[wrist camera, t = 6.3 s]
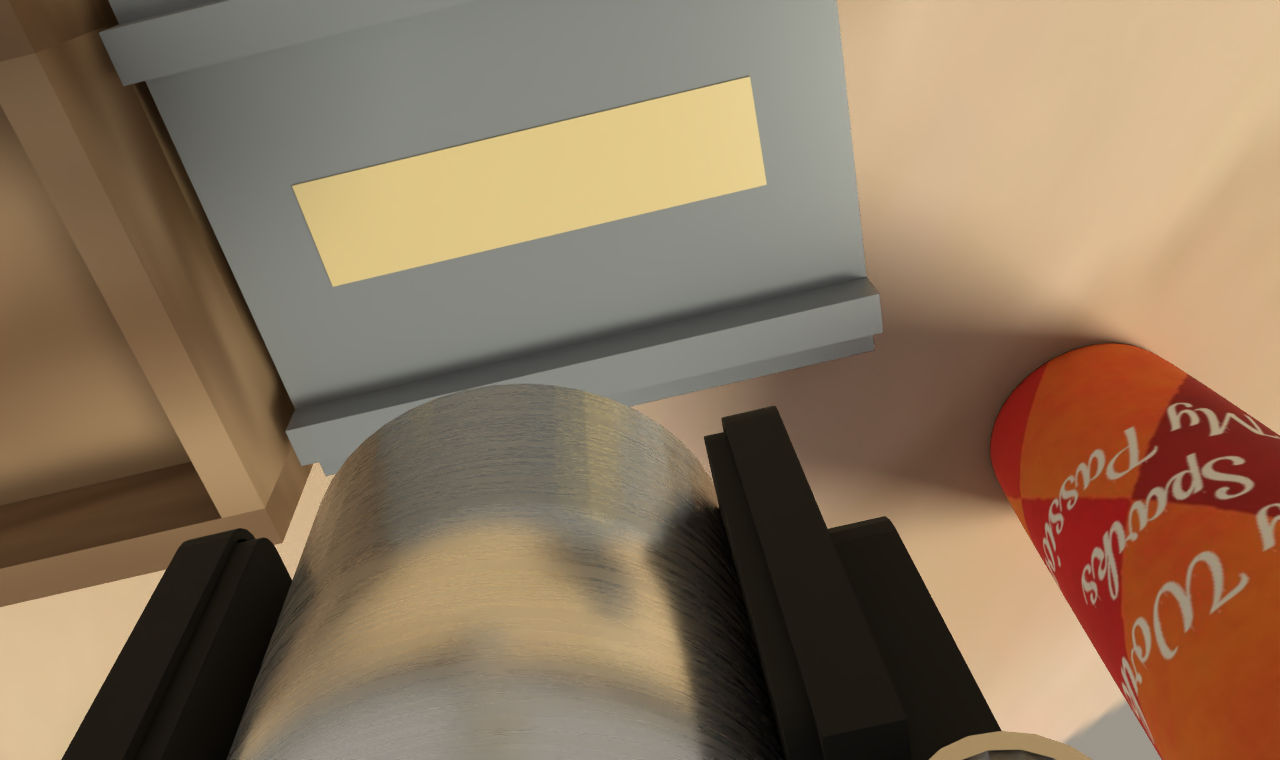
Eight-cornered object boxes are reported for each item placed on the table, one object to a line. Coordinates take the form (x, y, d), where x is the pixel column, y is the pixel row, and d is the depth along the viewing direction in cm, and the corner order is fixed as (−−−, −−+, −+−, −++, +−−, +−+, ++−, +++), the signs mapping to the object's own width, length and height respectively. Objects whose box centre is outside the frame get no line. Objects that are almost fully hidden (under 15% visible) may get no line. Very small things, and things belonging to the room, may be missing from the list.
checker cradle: (125, -37, 20) (71, -24, 18) (796, -203, 19) (827, -211, 17) (337, 444, 25) (317, 499, 23) (857, 324, 25) (886, 369, 23)
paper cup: (1109, 250, 25) (1664, 640, 12) (1273, 403, 27) (1860, 847, 15) (892, 459, 27) (1174, 955, 15) (1061, 581, 30) (1418, 1082, 18)
